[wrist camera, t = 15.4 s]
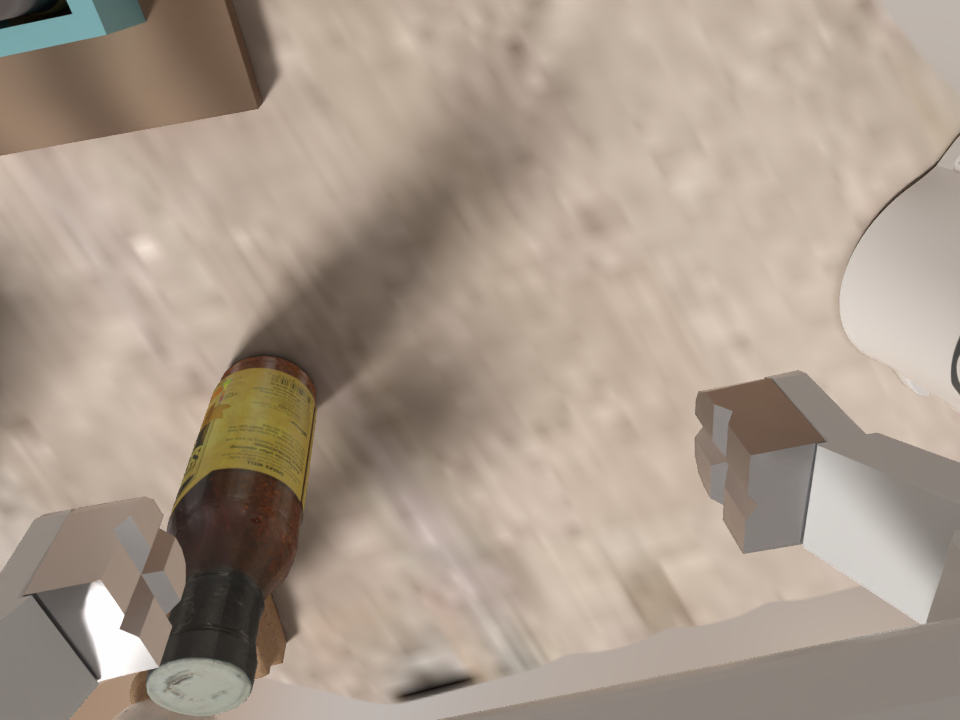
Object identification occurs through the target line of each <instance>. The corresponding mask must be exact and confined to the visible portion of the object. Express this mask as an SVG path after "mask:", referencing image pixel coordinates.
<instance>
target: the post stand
mask: <svg viewBox="0 0 960 720" xmlns="http://www.w3.org/2000/svg"><path fill="white" fill-rule="evenodd" d="M138 3H139V5H140V8H141V10H142V13H143V15H144V18H145V20H146V22H145V23H142V24H139V25H135V26H132V27H129V28H126V29H123V30H120V31H117V32H114V33H111V34H108V35H103V36H98V37H94V38H89V39H84V40H79V41H75V42H70V43H65V44H60V45H56V46H51V47H46V48H41V49H37V50H32V51H27V52H22V53H18V54H13V55H8V56H3V57H0V156H1V155H6V154H12V153H17V152H23V151H28V150H34V149H39V148H45V147H50V146H56V145H61V144H67V143H72V142H78V141H83V140H89V139H94V138H100V137H106V136H111V135H117V134H122V133H128V132H133V131H139V130H144V129H150V128H155V127H161V126H166V125H172V124H177V123H183V122H188V121H194V120H199V119H205V118H210V117H216V116H222V115H227V114H233V113H238V112H244V111H249V110H255V109H258V108H259V107H260V106H261V105H262V103H263V101H262V98H261V95H260V91H259V88H258V85H257V82H256V78H255V75H254V72H253V68H252V65H251V62H250V59H249V55H248V52H247V49H246V46H245V42H244V39H243V36H242V33H241V29H240V26H239V23H238V19H237V16H236V13H235V10H234V6H233V3H232V0H138ZM67 14H72V12H71V9H70V7H69V5H68V3H67V0H0V20H5V19H8V21H9V23H10V25H11V26H15V25H20V24H25V23H29V22H34V21H39V20H44V19H48V18H53V17H58V16H63V15H67Z"/></svg>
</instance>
